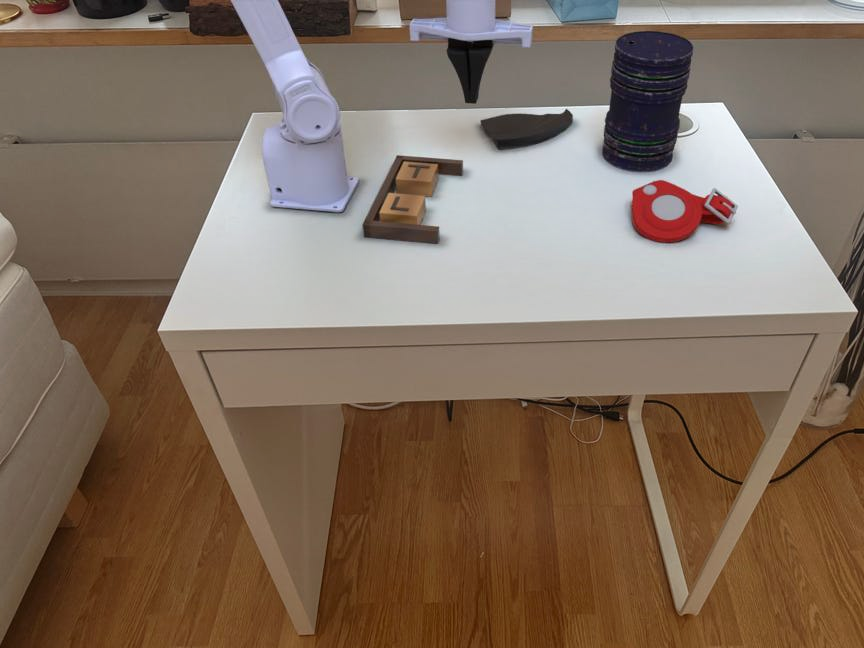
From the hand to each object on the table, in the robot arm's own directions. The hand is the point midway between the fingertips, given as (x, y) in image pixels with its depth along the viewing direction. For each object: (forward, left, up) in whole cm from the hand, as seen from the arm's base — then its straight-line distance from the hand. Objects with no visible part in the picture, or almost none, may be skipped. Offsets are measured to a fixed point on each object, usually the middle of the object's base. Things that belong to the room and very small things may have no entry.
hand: (471, 100), depth 93 cm
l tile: (-6, -14, -9) cm, 18 cm away
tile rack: (-6, -10, -9) cm, 15 cm away
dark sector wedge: (+6, +11, -10) cm, 16 cm away
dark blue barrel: (+22, +7, -10) cm, 25 cm away
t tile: (-6, -6, -9) cm, 13 cm away
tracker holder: (+27, -10, -10) cm, 30 cm away
